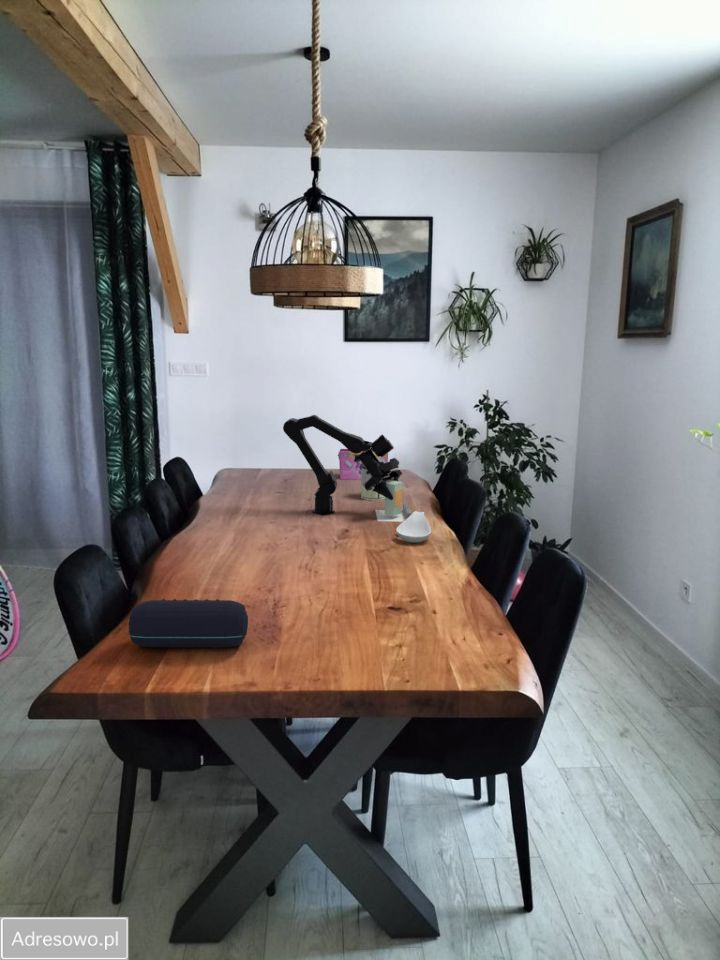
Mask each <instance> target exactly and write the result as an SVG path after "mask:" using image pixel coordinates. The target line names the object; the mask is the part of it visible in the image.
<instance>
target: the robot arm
mask: <svg viewBox="0 0 720 960" xmlns="http://www.w3.org/2000/svg"><path fill="white" fill-rule="evenodd" d="M282 426H283V428H282V429H283V432H284V434H286V435H287V437H288V438H289V439H290V440H292V441H291V442H293V443H294V444H296V446H297V448H298V450H299V451H300V452H301V455H302V456H303V457H304V459H305V460H306V462H307V463H308V465H309V467H310V468H311V470H312V472H313V473H314V475H315V477H316V480H317V484H318V485H319V487H318V488H317V489H316V491H315V493H314V496H315V497H314V510H311V512H312V513H314V514H318V515H321V516H326V515H330V514H334V513H336V511H335V510H334V508H333V507H334V500H333V496H332V495H333V494H334V493H335V492H336V490H337V488H338V482H337V480H338V478H337V477H336V476H335V475H334V473H333V470H330V471H328V470H327V469H326V468H325V467H324V465H323V463H322V462H321V460H320V459H319V458H318V456H317V454H316V453H315V451H314V449H313V447H312V446H311V444H310V442H309V441H308V440H307V438H306V436H305V432H304V430H305V429H309V428H312V427H313V428H315V429H316V430H318V431H320V432H322V433H324V434H325V435H328V436H329V437H331V438H333V439H334V440H336V441H338V442H340V444H342V445H343V446H344V447H345V449H348V450H350V451H351V452H352V453H355V454H358V453H360V452H362V451H363V452H362V453H361V454H360V455H355V459H354V462H356V463H358V462H360V461H361V463H362V464H363V465H364V467H365V468H366V469H367V472H366V473H367V475H368V474H370V475H371V476H372V477H371V478H370V479H369V480H368V481H367V482H366V483H365V484H364V488H365V489H366V490H367V491H369V490H372V486H374V489H373V490H372V491H375V492H377V493H379V494H381V495H383V496H385V497H386V498H388V499H390V500H393V496H392V494H391V493H390V491H389V489H388V488H387V486H386V483H387V482H391V481H398V482H399V479H400V478H401V476H402V475H403V472H402V471H401V469H399V468H400V467H399V465H400V461H399V460H398V459H397V458H396V457H393V458H390V459H389V460H388V462H387V463H384V462H380V461H379V460H378V459H377V457H376V456H375V455H374V453H375V454H376V455H377V456H378V457H380V456H381V457H383V456H385V455H386V454H387V453H388V454H389V453H390V452H391V451H392V450H393V449H395V447H394V445H393V443H391V441H390V440H389V439H388V438H387V437H386V436H385V435H384V434H381V435H379V437H378V438H377V439H376V440H374V441H373V442H372V441H368V440H365V439H364V438H362V436H360V435H359V436H358V435H356V434H353V433H350V432H346V431H343V429H340V428H338V427H337V426H335V425H333V424H331V423H329V422H328V421H326V420H324V419H322V418H321V417H319V416H318V415H316V414H311V415H309V416H306V417H302V418H289V419H288V420H286V421H285V422H284V423H283V425H282ZM365 450H368V451H366V452H365ZM372 451H374V453H373V452H372Z"/></svg>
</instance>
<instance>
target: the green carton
mask: <svg viewBox="0 0 720 960" xmlns="http://www.w3.org/2000/svg"><path fill="white" fill-rule="evenodd" d="M386 486H387V488H388V489H389V491H390V493H391V494H392V496H393V500H390V499H388V498H386V497H385V499H384V510H385V511H384V515H389V516H396V515H399V514H401V510H402V508H403V504H402V502H403V501H402V500H403V499H402V498H403V481H399V480H398V481H391V482H387V483H386Z"/></svg>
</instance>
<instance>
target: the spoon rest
mask: <svg viewBox="0 0 720 960" xmlns="http://www.w3.org/2000/svg"><path fill="white" fill-rule="evenodd" d="M395 532H396V534H397V536H398V537H399V538H400V539H401V540H402V541H405V542H407V543H412V544H413V543H414V544H416V543H417V544H418V543H421V542H424V541H425V540H427V539H428V538H429V537H430V536H431V533H432V528H431V526H430V524H429V522H428V519H427V517H426V512H424V511H416V510H415V511H413V512H412V513H411V515H410V516H409V517H408V518H407V519H406V520H405V521H404V522H401V523H400V524H399V525H398V526H397V527H396V529H395Z"/></svg>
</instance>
